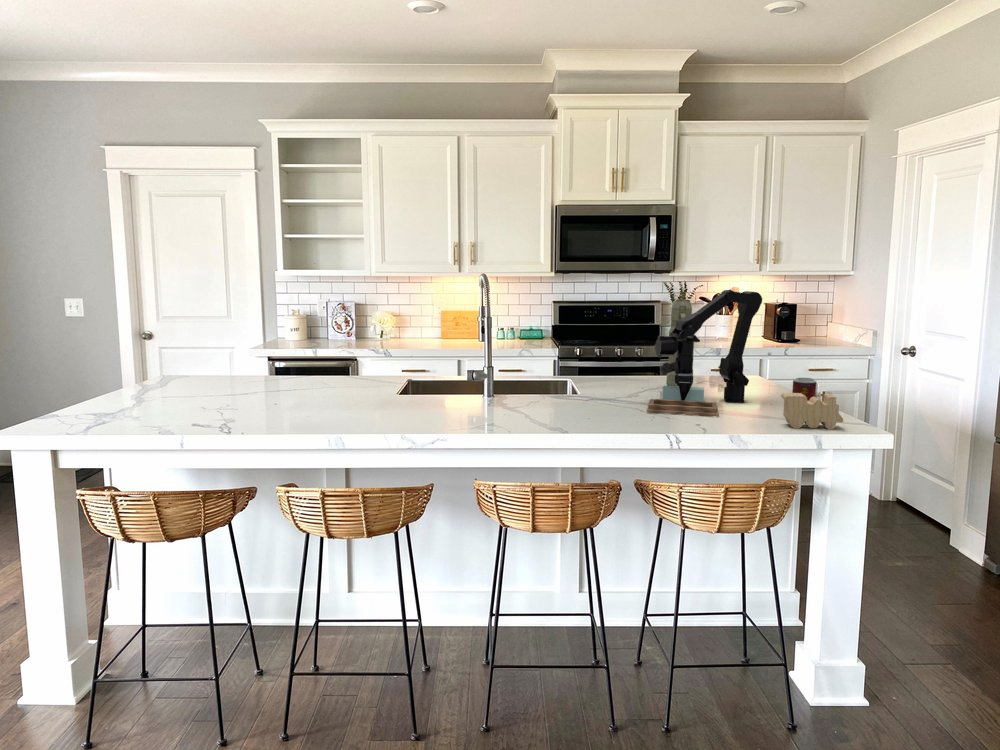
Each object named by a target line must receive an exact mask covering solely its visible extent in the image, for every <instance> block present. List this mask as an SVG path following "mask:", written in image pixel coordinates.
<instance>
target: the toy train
mask: <svg viewBox="0 0 1000 750" xmlns="http://www.w3.org/2000/svg"><path fill="white" fill-rule="evenodd" d="M780 397H781V398H782V399H783V400H784V401H783V414H782V415H783V417H784V419H785V421H786V423H788V424H789V425H790V427H792V428H794V429H800V428H802V427H803V426H804V424H805V425H806V426H807V427H809V428H810V429H817V428H818V427H819V426H820V424H821V425H822V426H823V427H825V428H826V429H828V430H833V429H835V428H836V425H837V423H843V422H844V418H843V416H841V413H839V412H840V405H839V404H838V403H837V396H835V395H833V394H832V393H824V394H823V401H822V400H820V399H819V398H817V397H816V398H815V397H811V398H810V400H809V401H807V397H806V396H804V395H803V394H802V393H792V392H782V393H781V394H780Z"/></svg>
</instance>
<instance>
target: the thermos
mask: <svg viewBox="0 0 1000 750" xmlns="http://www.w3.org/2000/svg"><path fill="white" fill-rule="evenodd" d="M670 311H671V312H670V321H671V324H670V328H669V330H668V336H669V335H670V334H671V332H672V331H673V330H674V328H675V327H676V323H677V321H678V320H680V319H682V318H683V317H685V316H688V315H690V314H693V312H692V311H693V307H692V303H691V301H689V299H675V300H674V301H673V302H672V305H671V310H670ZM688 337H691V336H688ZM677 340H681V339H677ZM676 357H677V353H675V354H674V355H668V363H669V362H672V361H675V360H676ZM666 386H678V385H677V384H676V383H675V371H673V372H670V373H667V374H666Z"/></svg>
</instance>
